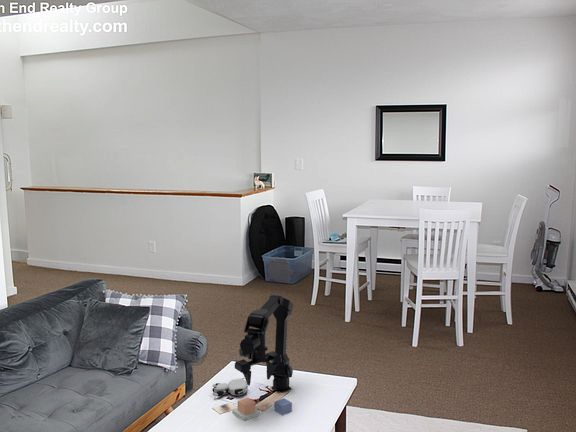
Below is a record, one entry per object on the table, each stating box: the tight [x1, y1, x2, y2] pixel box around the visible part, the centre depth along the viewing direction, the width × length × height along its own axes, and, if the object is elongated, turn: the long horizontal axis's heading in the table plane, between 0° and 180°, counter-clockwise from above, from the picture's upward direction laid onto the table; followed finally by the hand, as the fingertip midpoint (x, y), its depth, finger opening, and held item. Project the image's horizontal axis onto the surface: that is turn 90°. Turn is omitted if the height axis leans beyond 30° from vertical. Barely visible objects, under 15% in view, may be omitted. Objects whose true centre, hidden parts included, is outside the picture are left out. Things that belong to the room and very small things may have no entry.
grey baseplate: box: [231, 408, 261, 421], centre depth 227 cm, size 8×8×1 cm
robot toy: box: [212, 377, 249, 397], centre depth 245 cm, size 12×4×15 cm
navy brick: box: [273, 398, 293, 416], centre depth 229 cm, size 5×5×4 cm
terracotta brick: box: [237, 397, 256, 415], centre depth 226 cm, size 5×5×4 cm
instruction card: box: [212, 401, 238, 415], centre depth 231 cm, size 9×6×1 cm, turn 128°
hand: (258, 382), depth 226 cm, fingers open, 9 cm apart
